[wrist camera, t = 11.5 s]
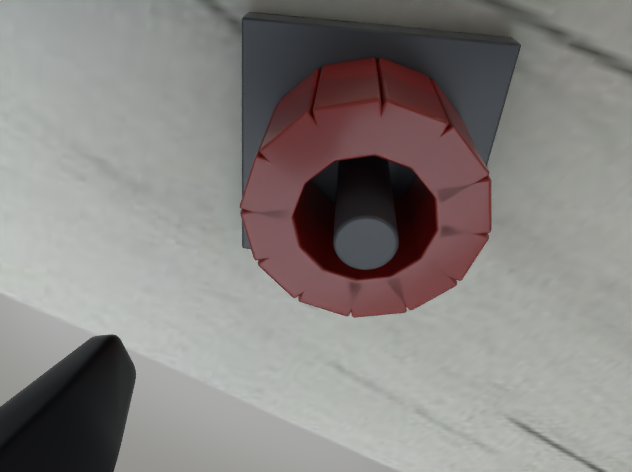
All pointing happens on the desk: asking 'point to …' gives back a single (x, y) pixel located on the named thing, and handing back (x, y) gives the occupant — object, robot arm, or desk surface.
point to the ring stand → (380, 42)
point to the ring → (410, 208)
